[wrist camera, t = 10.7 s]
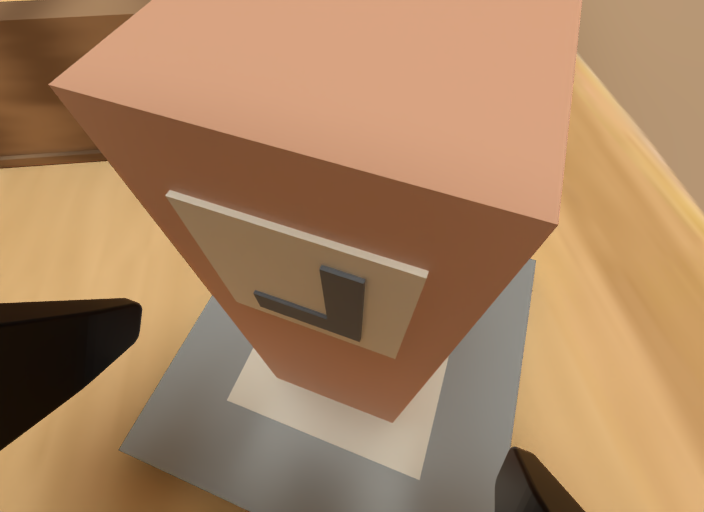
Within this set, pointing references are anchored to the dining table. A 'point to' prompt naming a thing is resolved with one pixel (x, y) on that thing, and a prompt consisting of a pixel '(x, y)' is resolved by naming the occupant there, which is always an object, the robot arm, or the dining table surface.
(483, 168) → the lettered block
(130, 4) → the screen
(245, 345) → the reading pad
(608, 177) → the dining table surface
